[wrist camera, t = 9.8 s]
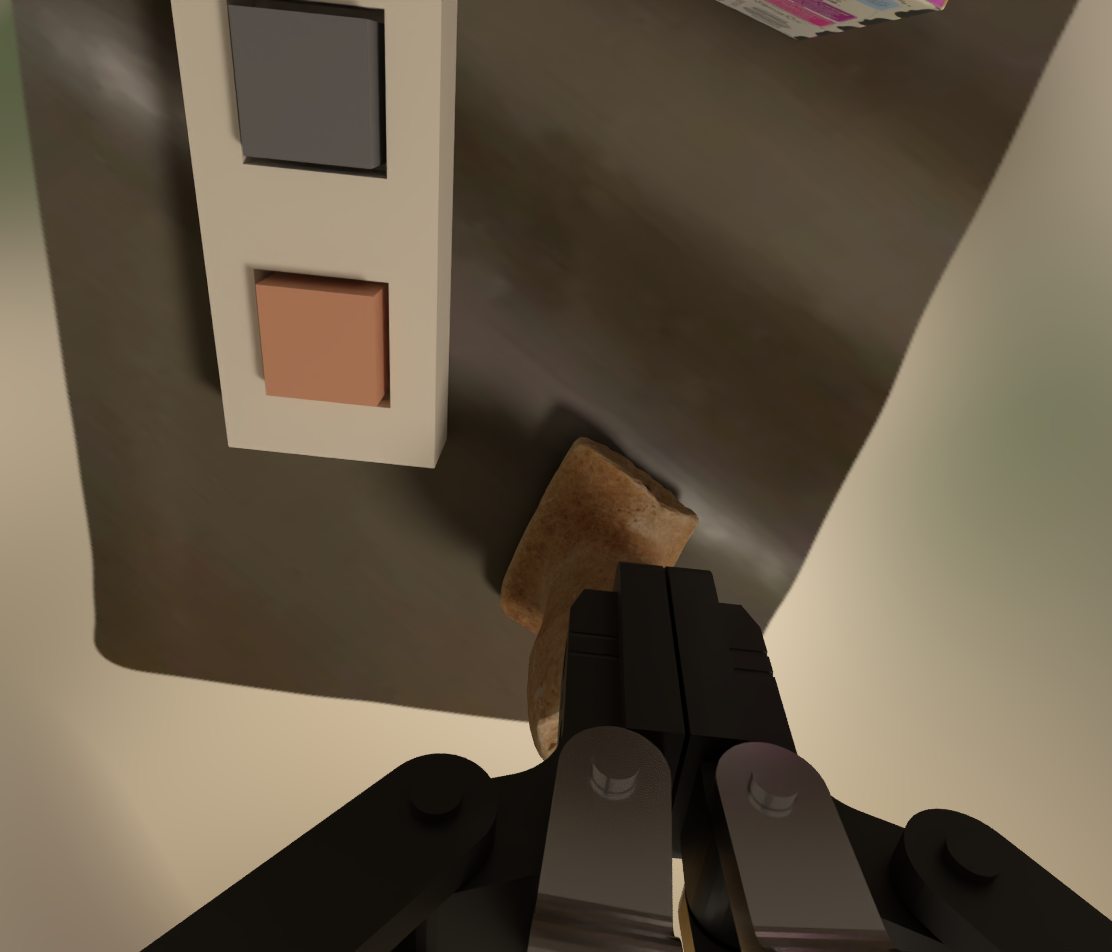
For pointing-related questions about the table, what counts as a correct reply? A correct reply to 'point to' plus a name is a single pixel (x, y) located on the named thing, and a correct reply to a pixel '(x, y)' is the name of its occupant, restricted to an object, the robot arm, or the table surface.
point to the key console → (331, 231)
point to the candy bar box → (829, 13)
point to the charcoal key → (310, 86)
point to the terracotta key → (324, 337)
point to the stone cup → (583, 558)
